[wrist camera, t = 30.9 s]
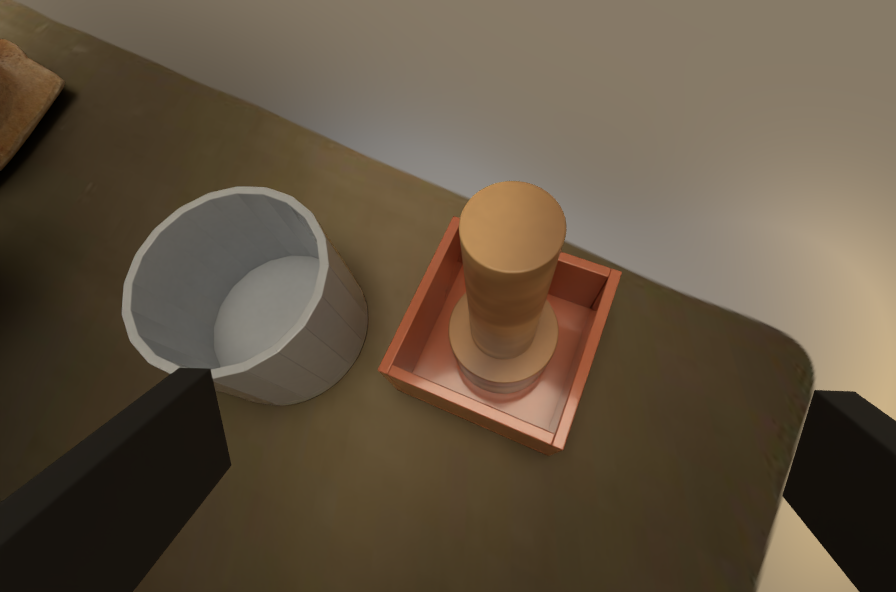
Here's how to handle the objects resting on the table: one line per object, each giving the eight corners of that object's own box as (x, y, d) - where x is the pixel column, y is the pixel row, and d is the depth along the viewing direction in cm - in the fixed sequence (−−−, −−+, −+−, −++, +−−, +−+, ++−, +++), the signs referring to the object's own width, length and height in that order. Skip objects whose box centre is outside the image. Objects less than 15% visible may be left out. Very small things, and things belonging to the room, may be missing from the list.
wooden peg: (437, 372, 29) (389, 272, 15) (474, 289, 31) (463, 131, 17) (530, 411, 27) (573, 340, 13) (563, 321, 29) (630, 178, 15)
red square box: (397, 389, 29) (377, 370, 24) (459, 257, 32) (453, 215, 27) (549, 456, 27) (563, 450, 22) (599, 307, 30) (622, 271, 25)
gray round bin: (182, 367, 31) (78, 329, 23) (267, 236, 34) (201, 164, 27) (318, 433, 28) (253, 415, 21) (395, 284, 32) (364, 221, 24)
